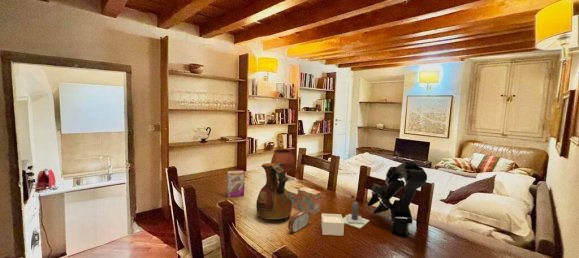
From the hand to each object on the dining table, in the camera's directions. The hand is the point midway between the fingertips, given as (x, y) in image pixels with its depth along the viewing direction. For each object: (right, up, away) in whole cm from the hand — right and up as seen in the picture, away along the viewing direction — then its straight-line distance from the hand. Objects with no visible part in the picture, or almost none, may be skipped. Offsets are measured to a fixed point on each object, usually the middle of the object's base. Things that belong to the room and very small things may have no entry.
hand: (370, 209), depth 138 cm
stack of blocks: (-36, -5, +17) cm, 40 cm away
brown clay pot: (-49, +1, +74) cm, 89 cm away
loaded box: (-22, -7, -9) cm, 25 cm away
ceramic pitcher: (-52, -6, +5) cm, 53 cm away
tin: (-39, -7, -9) cm, 40 cm away
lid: (-8, -6, +1) cm, 11 cm away
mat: (-8, -7, +1) cm, 11 cm away
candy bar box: (-80, -2, +35) cm, 87 cm away
